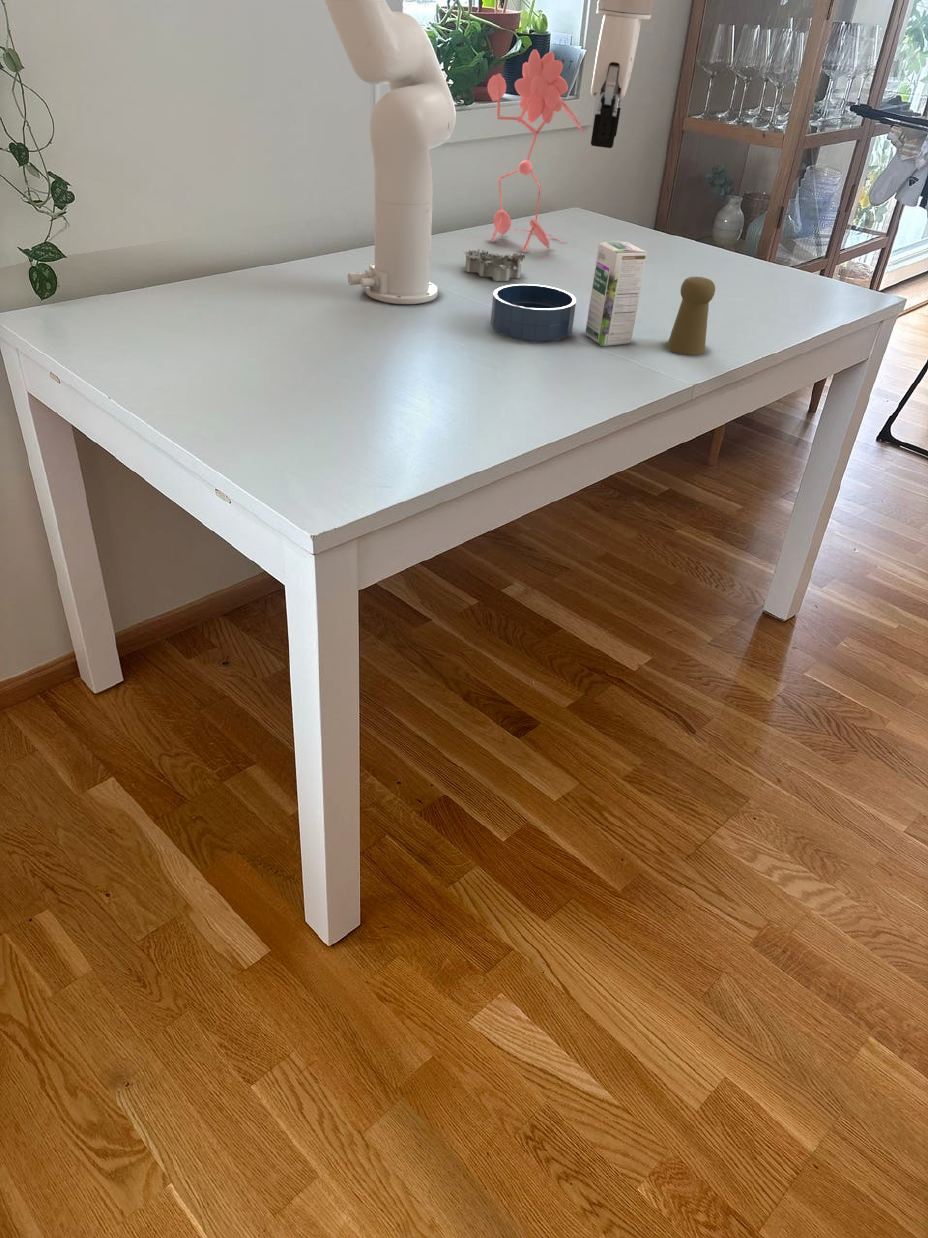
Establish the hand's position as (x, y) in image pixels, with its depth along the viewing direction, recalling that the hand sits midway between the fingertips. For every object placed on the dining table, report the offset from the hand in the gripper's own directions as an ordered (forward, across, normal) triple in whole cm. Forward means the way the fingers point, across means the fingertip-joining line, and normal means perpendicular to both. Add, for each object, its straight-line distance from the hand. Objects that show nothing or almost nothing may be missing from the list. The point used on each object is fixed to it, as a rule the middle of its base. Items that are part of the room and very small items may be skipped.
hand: (603, 140), depth 139 cm
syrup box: (+28, +4, +6) cm, 29 cm away
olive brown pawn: (+28, +4, +18) cm, 33 cm away
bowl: (+28, +4, -7) cm, 29 cm away
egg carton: (+29, -26, -18) cm, 43 cm away
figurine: (+29, -52, -14) cm, 61 cm away
